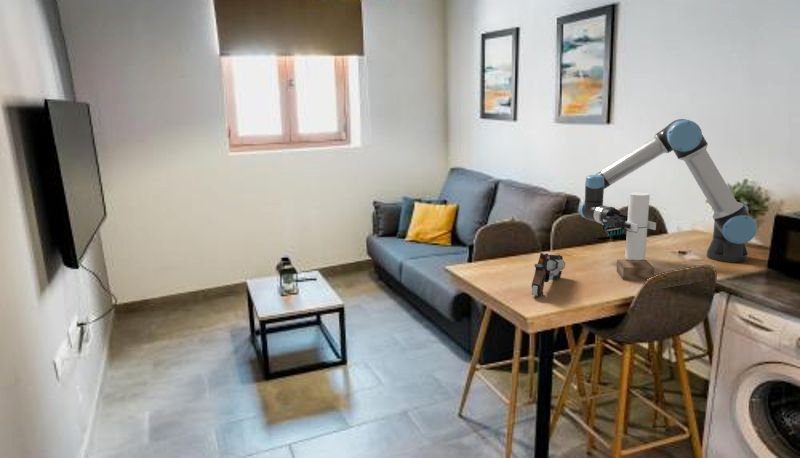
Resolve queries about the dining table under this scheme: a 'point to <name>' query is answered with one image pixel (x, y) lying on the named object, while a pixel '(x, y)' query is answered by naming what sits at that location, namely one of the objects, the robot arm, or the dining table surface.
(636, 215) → the cylindrical container
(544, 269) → the toy gun
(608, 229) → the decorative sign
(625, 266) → the base block
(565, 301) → the dining table surface
